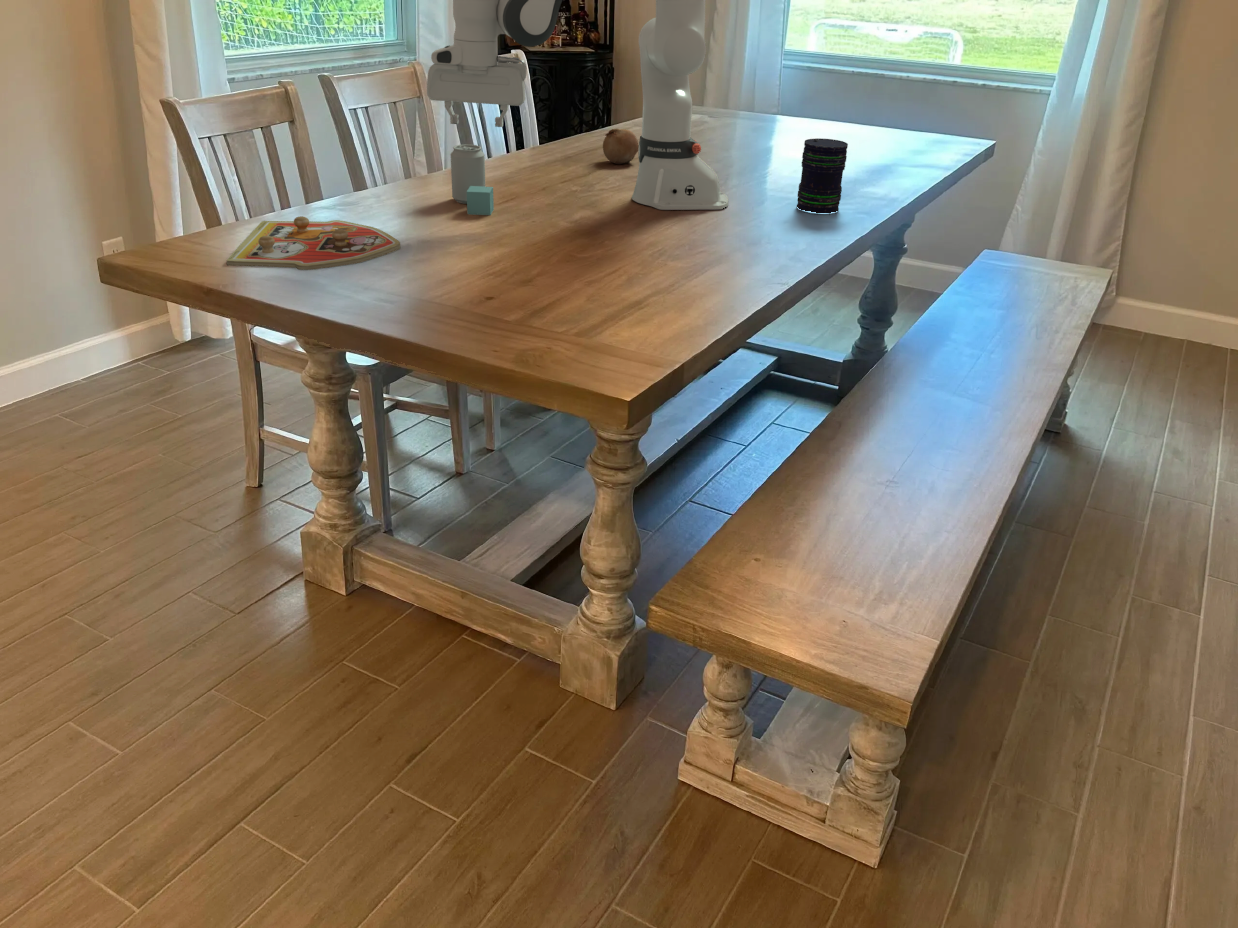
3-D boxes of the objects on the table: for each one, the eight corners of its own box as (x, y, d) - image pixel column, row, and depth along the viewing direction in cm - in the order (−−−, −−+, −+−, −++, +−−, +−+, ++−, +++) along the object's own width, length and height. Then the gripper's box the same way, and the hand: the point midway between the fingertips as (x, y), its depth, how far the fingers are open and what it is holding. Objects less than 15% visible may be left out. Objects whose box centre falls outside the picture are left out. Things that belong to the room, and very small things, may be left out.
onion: (608, 176, 266) (593, 142, 260) (614, 159, 272) (600, 126, 266) (641, 166, 262) (626, 131, 256) (646, 149, 269) (632, 115, 263)
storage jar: (847, 210, 231) (857, 143, 224) (823, 217, 225) (833, 149, 217) (811, 201, 237) (819, 136, 230) (787, 208, 231) (795, 141, 223)
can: (479, 206, 222) (477, 151, 217) (447, 203, 224) (445, 148, 218) (490, 198, 229) (488, 144, 223) (459, 195, 230) (456, 141, 224)
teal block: (493, 209, 221) (493, 186, 218) (490, 215, 216) (489, 192, 214) (471, 208, 221) (470, 186, 218) (467, 214, 216) (466, 191, 214)
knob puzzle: (263, 226, 204) (260, 205, 202) (409, 229, 206) (408, 208, 204) (223, 271, 179) (219, 247, 177) (390, 274, 181) (388, 250, 179)
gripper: (528, 56, 206) (527, 125, 212) (430, 49, 206) (432, 119, 213) (524, 59, 200) (524, 131, 207) (423, 53, 201) (426, 124, 207)
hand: (476, 125), depth 210 cm, fingers open, 8 cm apart
